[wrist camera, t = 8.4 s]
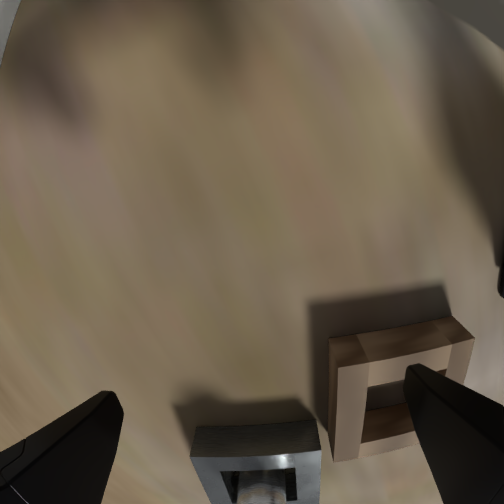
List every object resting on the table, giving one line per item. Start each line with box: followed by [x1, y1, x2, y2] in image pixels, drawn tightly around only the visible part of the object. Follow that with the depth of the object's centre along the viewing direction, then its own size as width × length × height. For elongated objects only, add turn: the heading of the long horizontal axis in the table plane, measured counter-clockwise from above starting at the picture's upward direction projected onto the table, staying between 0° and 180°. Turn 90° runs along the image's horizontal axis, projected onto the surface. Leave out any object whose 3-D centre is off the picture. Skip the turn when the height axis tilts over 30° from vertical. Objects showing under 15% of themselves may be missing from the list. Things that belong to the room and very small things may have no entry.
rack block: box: [190, 420, 321, 504], centre depth 24 cm, size 10×10×4 cm
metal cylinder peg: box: [237, 469, 286, 504], centre depth 21 cm, size 4×4×9 cm
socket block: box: [328, 316, 475, 463], centre depth 21 cm, size 10×10×4 cm
